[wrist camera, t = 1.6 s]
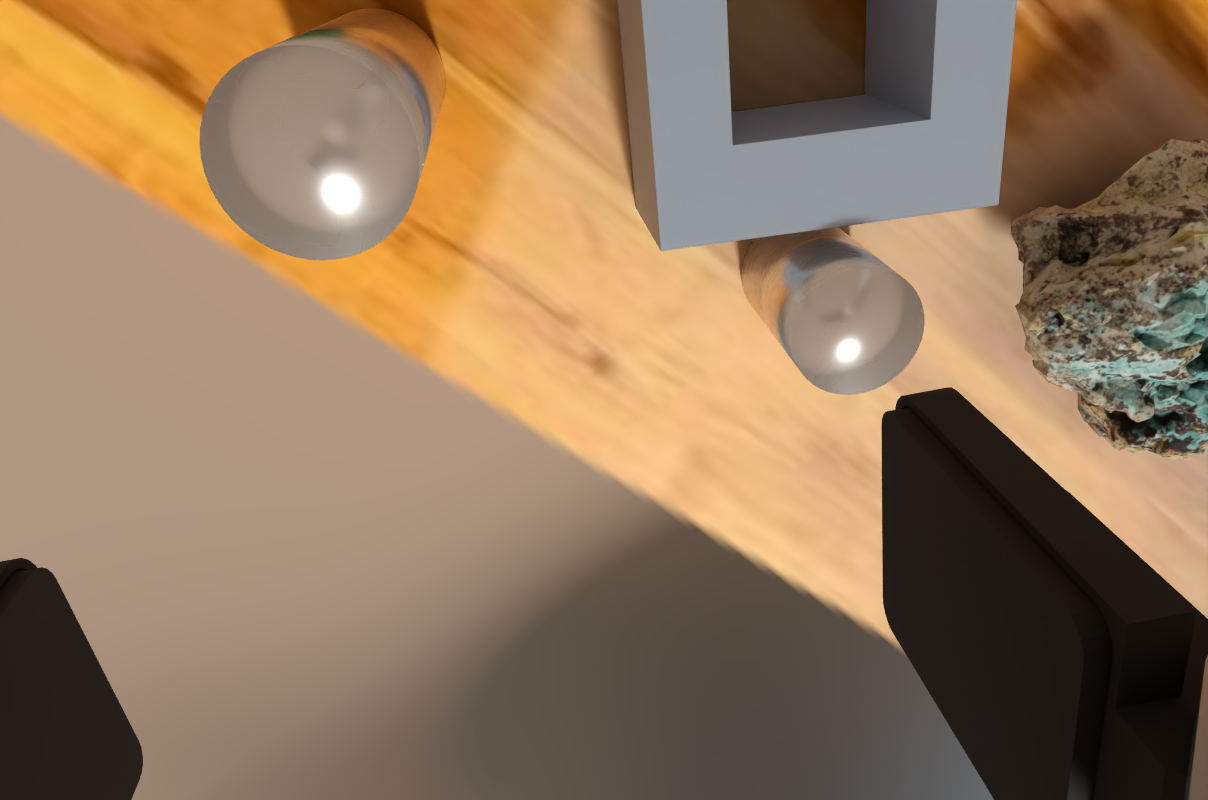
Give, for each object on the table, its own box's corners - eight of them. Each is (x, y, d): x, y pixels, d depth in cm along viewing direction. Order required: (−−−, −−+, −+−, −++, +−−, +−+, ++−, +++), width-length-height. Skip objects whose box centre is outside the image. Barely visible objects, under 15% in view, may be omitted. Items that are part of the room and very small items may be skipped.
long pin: (296, 16, 27) (170, 59, 16) (432, 0, 27) (395, 31, 17) (329, 153, 29) (234, 272, 18) (456, 137, 29) (437, 245, 18)
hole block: (601, -178, 26) (625, -205, 21) (945, -216, 26) (1039, -250, 22) (635, 207, 31) (661, 250, 26) (925, 168, 31) (998, 205, 27)
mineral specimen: (942, 264, 32) (1091, 423, 27) (1182, 70, 29) (1405, 204, 24) (1052, 400, 40) (1183, 544, 35) (1249, 259, 37) (1425, 392, 32)
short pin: (739, 222, 31) (791, 278, 26) (853, 207, 32) (927, 258, 26) (743, 330, 33) (792, 403, 28) (851, 315, 33) (920, 384, 28)
